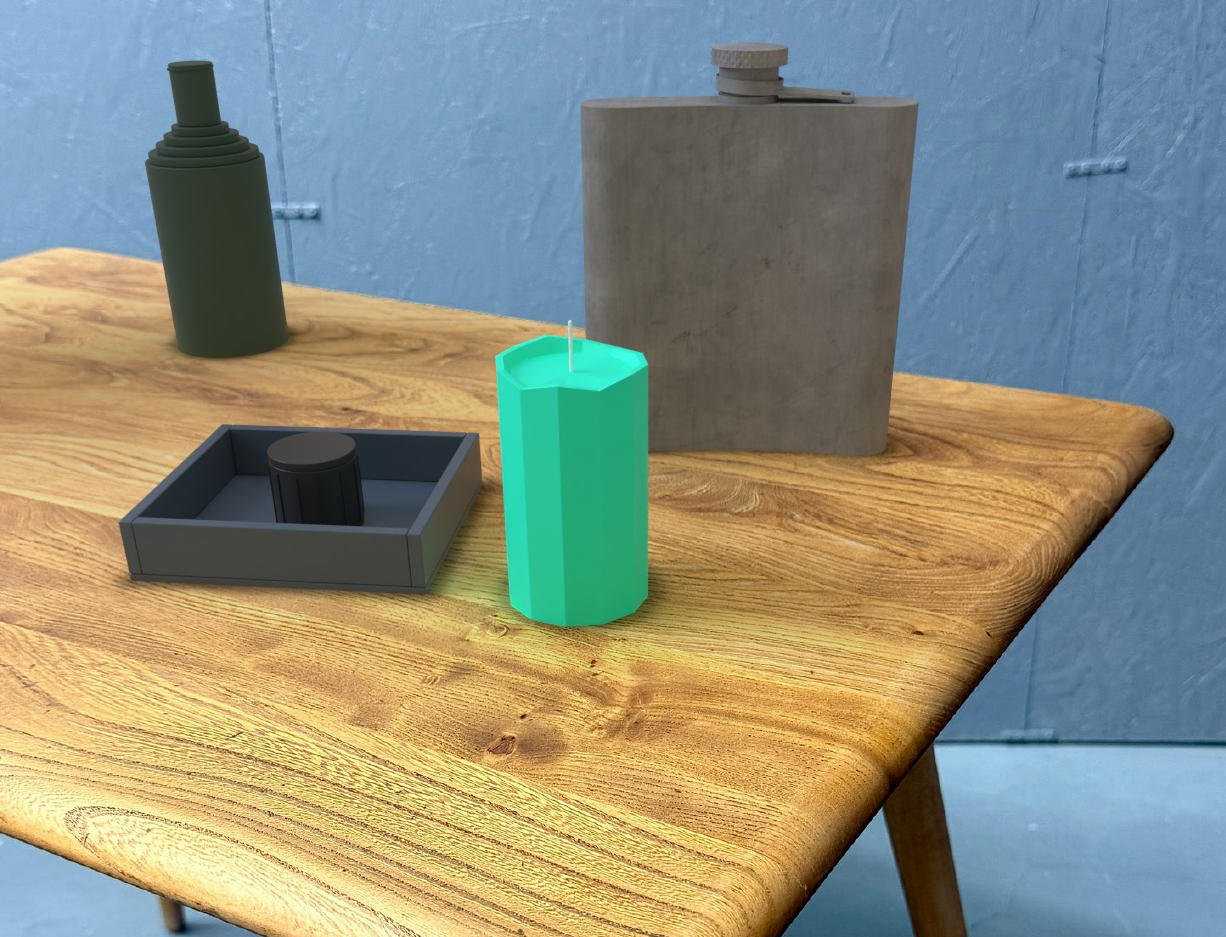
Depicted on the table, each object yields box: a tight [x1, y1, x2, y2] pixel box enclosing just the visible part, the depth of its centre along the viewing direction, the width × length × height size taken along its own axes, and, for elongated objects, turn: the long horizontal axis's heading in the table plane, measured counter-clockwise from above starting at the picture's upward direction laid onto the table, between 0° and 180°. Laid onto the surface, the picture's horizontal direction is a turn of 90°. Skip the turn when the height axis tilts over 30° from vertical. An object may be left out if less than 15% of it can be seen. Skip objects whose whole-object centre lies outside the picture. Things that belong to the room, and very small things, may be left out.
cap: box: [267, 432, 365, 526], centre depth 60 cm, size 4×4×4 cm
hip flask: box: [579, 41, 920, 458], centre depth 66 cm, size 16×4×20 cm, turn 87°
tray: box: [118, 423, 483, 596], centre depth 61 cm, size 13×12×3 cm
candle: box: [494, 319, 649, 628], centre depth 53 cm, size 6×6×12 cm
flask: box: [144, 60, 290, 359], centre depth 83 cm, size 7×7×18 cm
